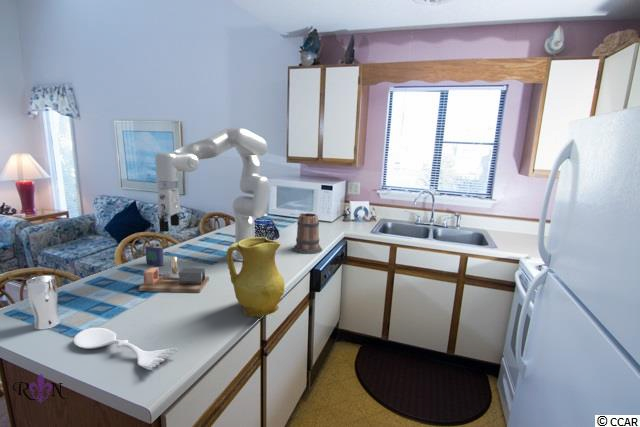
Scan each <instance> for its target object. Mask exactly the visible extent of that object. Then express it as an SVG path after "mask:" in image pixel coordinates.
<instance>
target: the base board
mask: <svg viewBox="0 0 640 427" xmlns="http://www.w3.org/2000/svg"><path fill="white" fill-rule="evenodd" d="M209 281H210V276H205V281H204V282H203V284H202V285H180V283H179V280H164V279H163V275H159V280H157V281H156V282H155V283H154V284H144V283H143V284H142V285H140V287H138V290H139V291H145V292H147V293H148V292H149V293H150V292H152V293H155V292H156V293H161V292H162V293H201V292H202V290H203V289H204V288H205V286H206V285H207V284H208V282H209ZM139 291H138V292H139Z"/></svg>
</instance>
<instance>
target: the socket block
mask: <svg viewBox="0 0 640 427" xmlns="http://www.w3.org/2000/svg"><path fill="white" fill-rule="evenodd" d="M159 276H160V275H159V267H148V268H147V269H145V270H144V271H143V284H154V283H155V282H156V281H157V280H159Z"/></svg>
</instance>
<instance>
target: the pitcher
mask: <svg viewBox="0 0 640 427" xmlns="http://www.w3.org/2000/svg"><path fill="white" fill-rule="evenodd" d="M281 245H282V244H281V243H280V242H279V241H276V240H268V239H267V236H266V237H265V236H264V237H263V236H261V237H260V236H259V237H257V236H256V237H253V238H247V239H243V240H241V241H239V242H238V243H236V242H233V243H232V244H230V246H229V247H228V248H227V250H226V259H227V263H226V264H227V266H228V267H227V268H228V271H229V275H230V282H231V284H232V285H233V290H234V293H235V298H236V301H237V302H238V304H239V305H241V306H242V309H241V310H242V311H243V313H244V314H245V315H247V316H248V317H249V316H250V317H253V318H254V317H257V318H260V317H264V316H265V317H266V316H268V315H271V314H274V313H276V312H277V311H278V309H279V305H278V304H279V303H280V302H281V301H282V300H283V299H282V297H283V295H285V294H284V293H285V280H284V278H283V275H282V274H281V273H280V271H279V269H278V267H277V264H276V258H275V257H276V252H277V250H278V249H279V248H280V246H281ZM234 251H235V252H236V251H239V252H240V254H241V255H242V256H243V261H241V263H242V264H241V268H240V271H239V273H237V271H236V266H235V262H234V259H233V253H234Z"/></svg>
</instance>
